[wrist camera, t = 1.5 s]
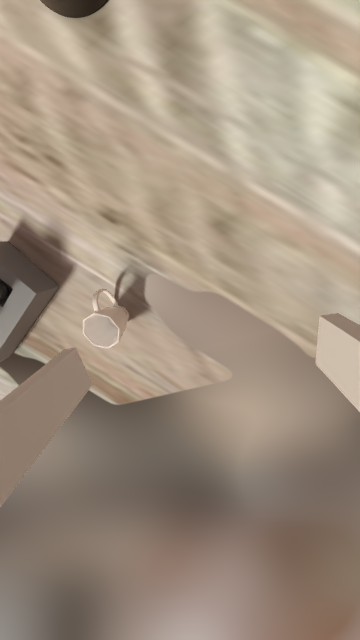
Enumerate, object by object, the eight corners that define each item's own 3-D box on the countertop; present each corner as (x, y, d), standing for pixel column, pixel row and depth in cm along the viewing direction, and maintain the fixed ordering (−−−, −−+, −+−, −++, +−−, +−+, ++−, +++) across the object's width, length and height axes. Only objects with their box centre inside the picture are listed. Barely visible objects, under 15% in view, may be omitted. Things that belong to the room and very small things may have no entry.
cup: (109, 331, 42) (89, 350, 34) (94, 287, 38) (68, 298, 31) (139, 327, 41) (125, 347, 33) (126, 282, 37) (107, 292, 29)
